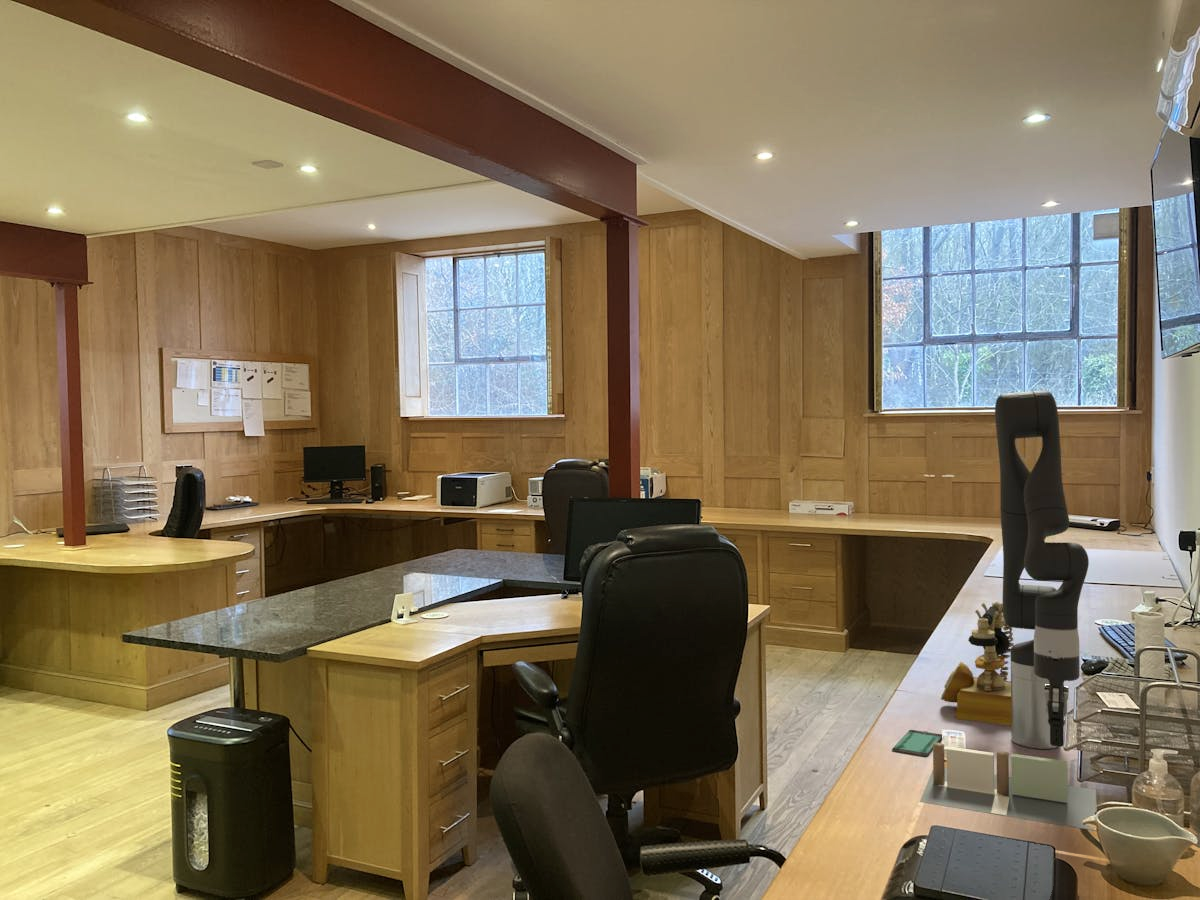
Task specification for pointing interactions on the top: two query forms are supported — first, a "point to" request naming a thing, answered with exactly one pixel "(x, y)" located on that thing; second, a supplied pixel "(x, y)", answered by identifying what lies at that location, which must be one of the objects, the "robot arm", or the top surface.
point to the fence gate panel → (1039, 778)
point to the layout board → (1016, 803)
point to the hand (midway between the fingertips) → (1056, 745)
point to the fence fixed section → (971, 769)
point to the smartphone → (917, 743)
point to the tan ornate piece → (984, 673)
